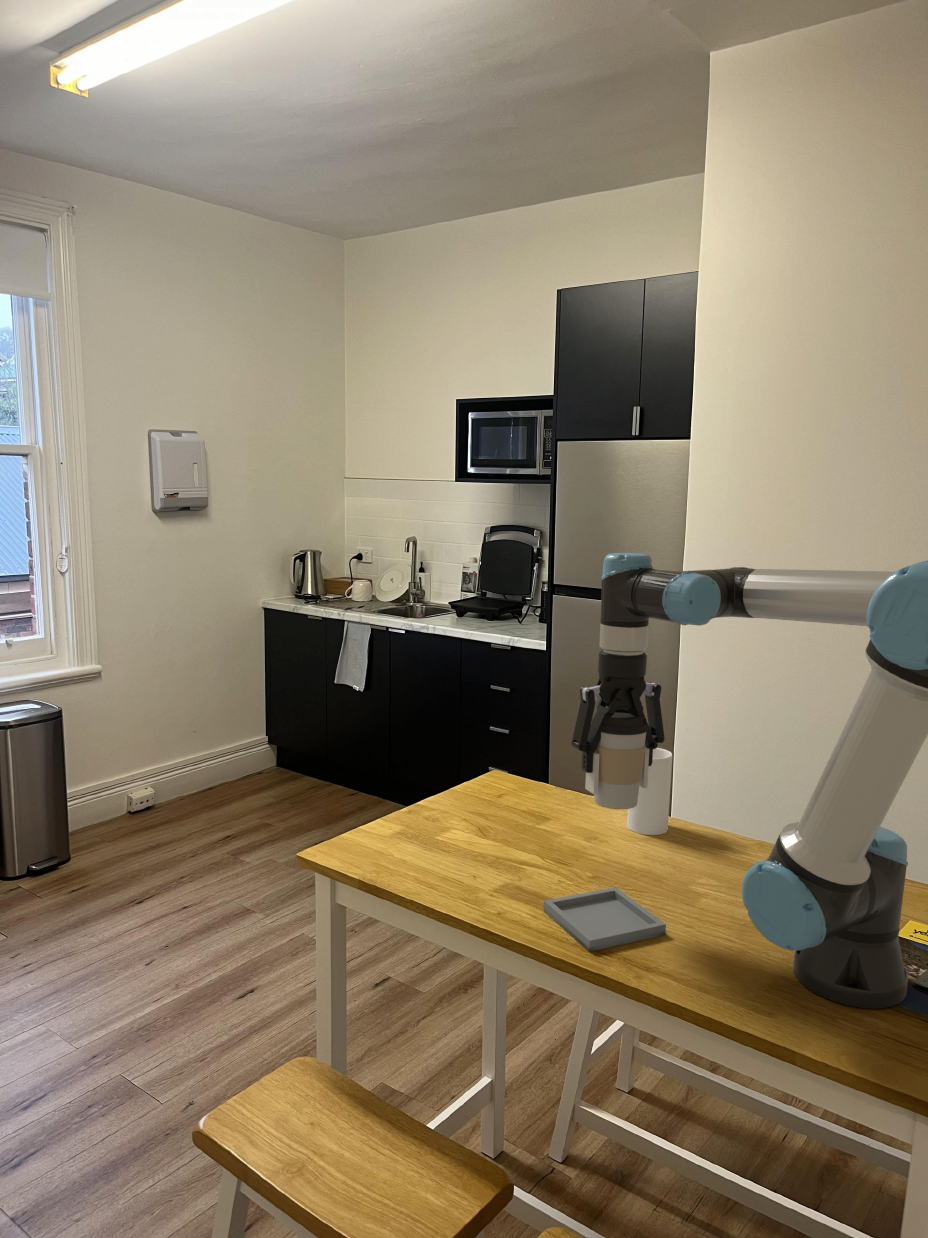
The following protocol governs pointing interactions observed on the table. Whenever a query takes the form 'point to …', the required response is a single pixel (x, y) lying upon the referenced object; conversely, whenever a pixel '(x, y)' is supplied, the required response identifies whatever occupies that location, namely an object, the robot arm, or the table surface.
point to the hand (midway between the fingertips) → (616, 788)
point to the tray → (604, 919)
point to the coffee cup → (620, 760)
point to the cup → (653, 797)
